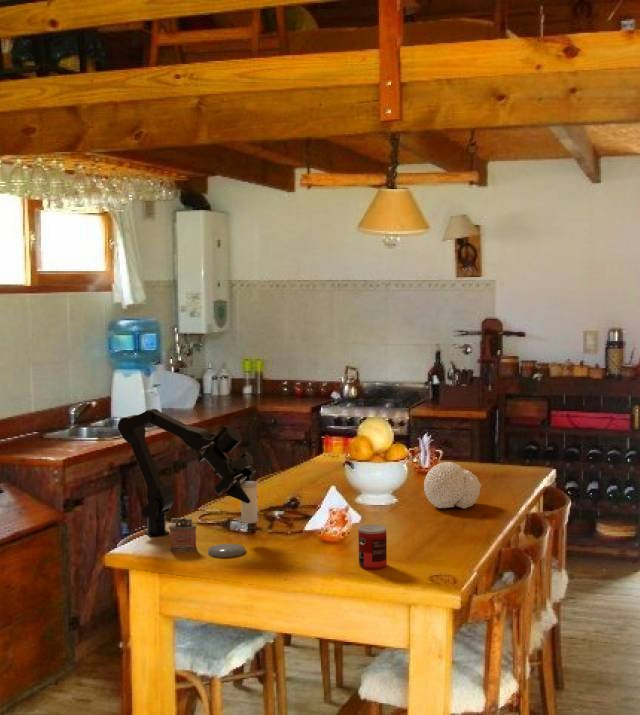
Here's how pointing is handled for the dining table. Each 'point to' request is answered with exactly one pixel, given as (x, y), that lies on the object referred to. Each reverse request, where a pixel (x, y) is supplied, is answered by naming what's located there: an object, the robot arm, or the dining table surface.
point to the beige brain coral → (451, 486)
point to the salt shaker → (250, 509)
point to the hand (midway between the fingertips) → (253, 500)
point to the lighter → (182, 535)
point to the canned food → (372, 547)
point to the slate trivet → (226, 550)
